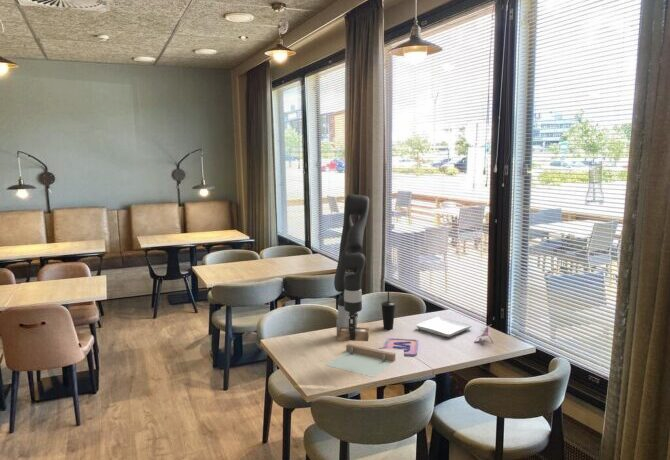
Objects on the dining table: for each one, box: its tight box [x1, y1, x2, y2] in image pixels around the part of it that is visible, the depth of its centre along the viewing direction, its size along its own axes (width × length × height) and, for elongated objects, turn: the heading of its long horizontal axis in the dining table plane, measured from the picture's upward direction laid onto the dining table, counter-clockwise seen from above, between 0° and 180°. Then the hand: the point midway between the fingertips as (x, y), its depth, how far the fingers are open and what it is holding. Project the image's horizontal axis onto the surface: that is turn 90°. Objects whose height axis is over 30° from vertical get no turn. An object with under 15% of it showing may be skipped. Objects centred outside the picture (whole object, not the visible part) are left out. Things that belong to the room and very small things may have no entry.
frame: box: [336, 326, 370, 342], centre depth 219 cm, size 13×6×4 cm, turn 83°
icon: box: [374, 337, 419, 357], centre depth 243 cm, size 19×2×20 cm
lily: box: [474, 325, 494, 343], centre depth 248 cm, size 12×12×10 cm
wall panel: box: [325, 343, 396, 378], centre depth 223 cm, size 24×20×4 cm
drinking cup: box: [380, 290, 397, 331], centre depth 268 cm, size 8×8×20 cm
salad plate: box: [415, 315, 473, 338], centre depth 265 cm, size 21×21×3 cm
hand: (353, 337), depth 219 cm, fingers closed on frame, 5 cm apart
